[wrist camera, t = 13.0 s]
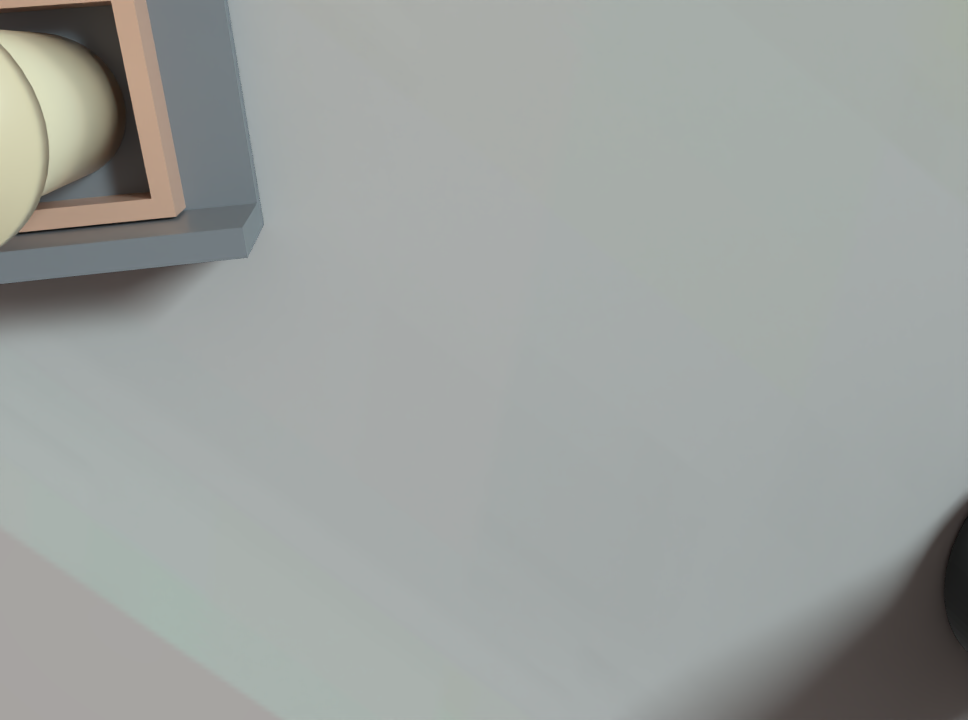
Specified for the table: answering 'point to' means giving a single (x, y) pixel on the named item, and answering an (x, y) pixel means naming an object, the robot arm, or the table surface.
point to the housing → (121, 138)
